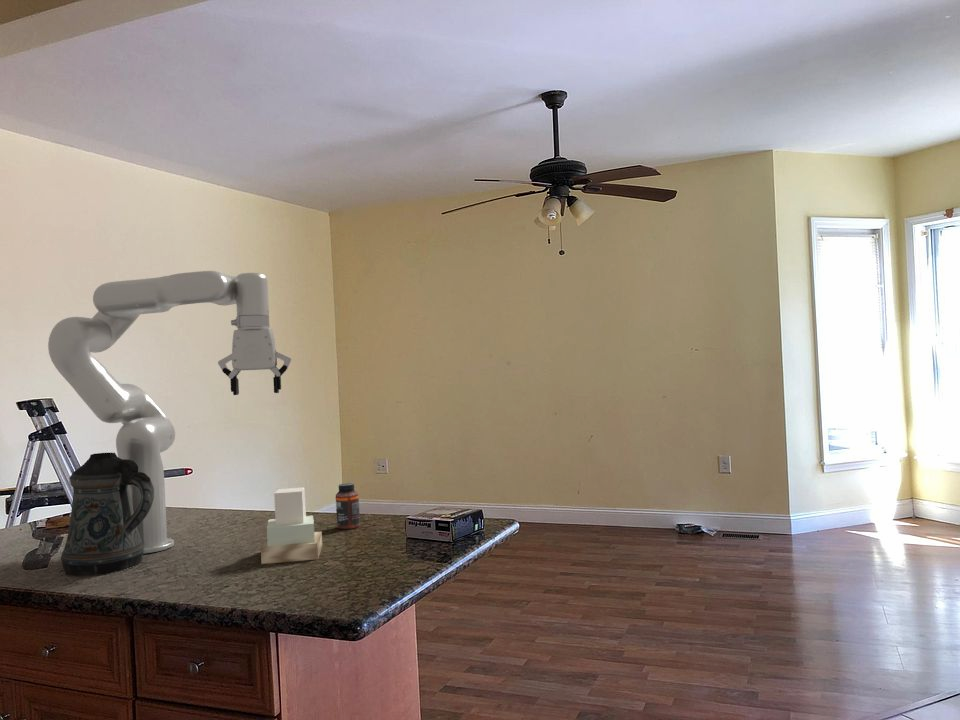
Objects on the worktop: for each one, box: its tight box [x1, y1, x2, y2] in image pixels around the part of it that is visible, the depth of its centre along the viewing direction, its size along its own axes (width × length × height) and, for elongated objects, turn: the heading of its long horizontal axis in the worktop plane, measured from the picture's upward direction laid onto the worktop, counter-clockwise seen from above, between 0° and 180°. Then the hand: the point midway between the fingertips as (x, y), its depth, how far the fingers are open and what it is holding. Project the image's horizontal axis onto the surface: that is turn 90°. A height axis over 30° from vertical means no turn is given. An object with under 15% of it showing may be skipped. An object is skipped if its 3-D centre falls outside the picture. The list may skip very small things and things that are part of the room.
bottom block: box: [260, 531, 323, 565], centre depth 166 cm, size 12×12×4 cm
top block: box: [266, 514, 315, 547], centre depth 166 cm, size 10×10×4 cm
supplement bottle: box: [335, 482, 361, 530], centre depth 193 cm, size 6×6×11 cm
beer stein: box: [60, 452, 154, 577], centre depth 165 cm, size 16×19×25 cm
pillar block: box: [273, 486, 307, 525], centre depth 167 cm, size 6×6×7 cm
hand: (256, 393), depth 180 cm, fingers open, 9 cm apart
